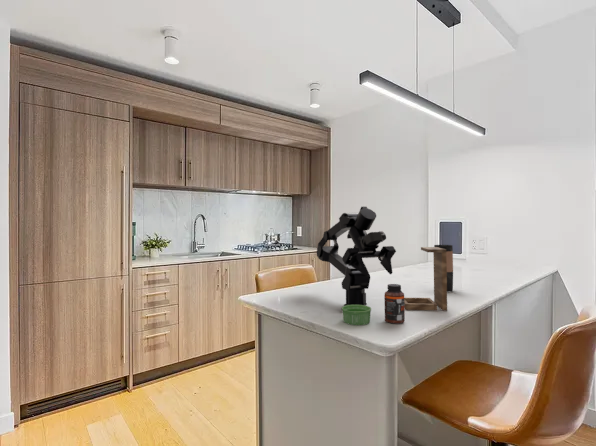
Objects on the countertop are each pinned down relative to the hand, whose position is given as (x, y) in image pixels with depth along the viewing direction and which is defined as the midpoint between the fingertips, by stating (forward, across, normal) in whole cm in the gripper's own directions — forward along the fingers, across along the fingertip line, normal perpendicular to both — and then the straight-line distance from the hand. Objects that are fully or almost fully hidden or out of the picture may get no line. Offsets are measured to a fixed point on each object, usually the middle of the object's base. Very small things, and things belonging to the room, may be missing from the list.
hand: (379, 274), depth 114 cm
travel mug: (-6, +50, +25) cm, 56 cm away
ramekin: (+12, -11, +8) cm, 18 cm away
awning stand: (+7, +21, +12) cm, 25 cm away
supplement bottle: (+15, 0, +4) cm, 16 cm away
